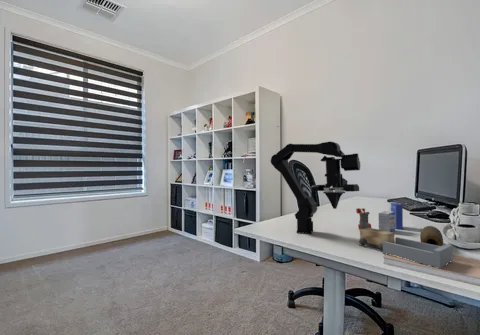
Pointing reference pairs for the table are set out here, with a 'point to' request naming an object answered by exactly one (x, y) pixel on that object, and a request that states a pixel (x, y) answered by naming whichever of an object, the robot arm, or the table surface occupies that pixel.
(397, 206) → the walkman
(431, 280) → the table surface
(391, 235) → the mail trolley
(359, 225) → the toy fire truck
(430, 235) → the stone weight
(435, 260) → the tray
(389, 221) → the medicine box
